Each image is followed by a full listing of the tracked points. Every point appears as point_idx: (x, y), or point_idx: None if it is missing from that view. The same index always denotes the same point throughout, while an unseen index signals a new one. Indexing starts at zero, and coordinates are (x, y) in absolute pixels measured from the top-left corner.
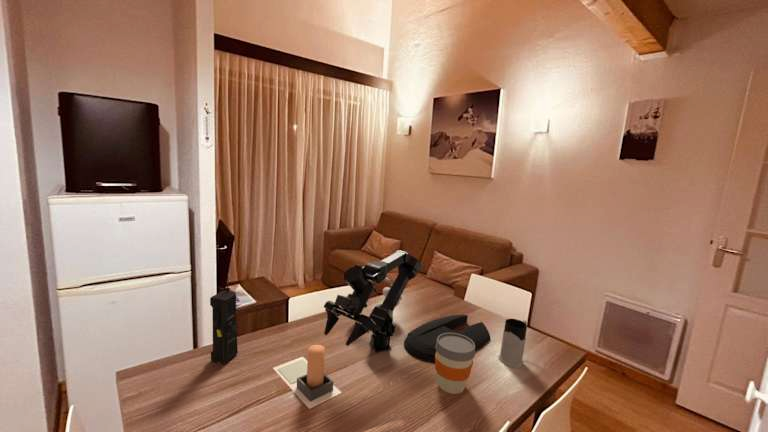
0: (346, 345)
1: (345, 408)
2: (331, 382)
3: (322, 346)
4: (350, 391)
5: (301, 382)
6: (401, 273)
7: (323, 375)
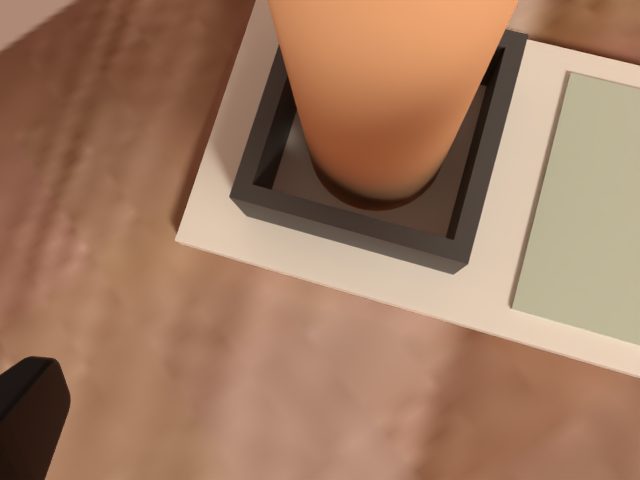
0: (65, 385)
1: (85, 158)
2: (236, 177)
3: (378, 8)
4: (152, 324)
5: None
6: None
7: (301, 122)
